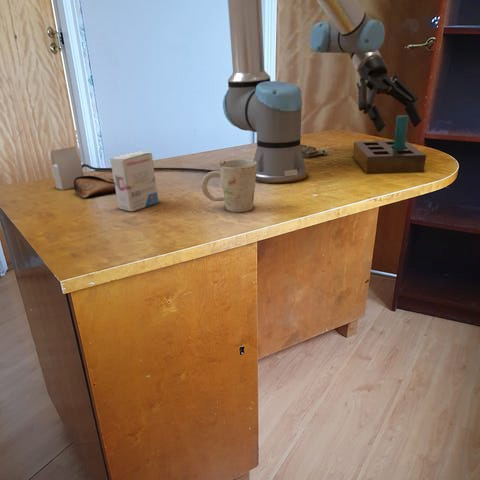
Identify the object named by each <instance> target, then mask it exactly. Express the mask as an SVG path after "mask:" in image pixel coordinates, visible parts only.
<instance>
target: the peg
mask: <svg viewBox="0 0 480 480" xmlns="http://www.w3.org/2000/svg"><path fill="white" fill-rule="evenodd" d="M409 119H410V118H409V116H408V114H407V115H404V114H399V115H396V120H395V128H394V138H393V140H394V145H393V149H405V142H406V141H407V134H408V125H409Z"/></svg>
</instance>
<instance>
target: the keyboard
mask: <svg viewBox="0 0 480 480" xmlns="http://www.w3.org/2000/svg"><path fill="white" fill-rule="evenodd" d="M300 147H301V151H302V155H303V158H304V159H310V158H314V157H318V156H325V155H326V150H322V151H319V150H318V149H317V147H315V146H311V145H309V146H308V145H306V144H301V143H300Z"/></svg>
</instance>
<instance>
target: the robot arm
mask: <svg viewBox="0 0 480 480" xmlns="http://www.w3.org/2000/svg"><path fill="white" fill-rule="evenodd" d="M316 2H317V3H318V4H319V6H320V7H321V9H322V10H323V12H324V13H325V14H326V16H327V17H328V18H329V20H330V21H329V22H328V21H319V22H316V23H315V24H314V25H313V26H312V28H311V29H310V34H309V45H310V48H311V49H312V51H314V52H316V53H321V54H327V53H328V54H348V55H349V57H350V59H351V61H352V63H353V66H354V68H355V70H356V72H357V73H358V75H359V78H360V79H359V80H358V81H357V83H356V87H357V89H358V111H361V112H363V114H364V115H367V116H368V117H369V119H370V121H372V123H373V125H374V127H375V129H376V131H377V133H381V131H382V130H383V129H384V128H385V126H386V123H385V121H384V119H383V117H382V115H381V113H380V112H379V108H378V107H377V105H374V103H375V99H376V96H377V95H386V96H390V97H392V98H393V99H394V100H396V101H398V102H399V103H400V104H402V105H403V106H404V110H405V112H406V114H407V116H409V118H408V119H409V121H410V122H411V124H412V126H413V128H416V127H418V125H419V124H420V123H421V122H422V118H421V116H420V114H419V112H418V109H417V106H416V104H415V103H416V102H417V101H418V99H419V97H418V96H417V95H416V94H415V93H414V92H413V91H412V90H410V88H409V87H408V86H407V85H406V84H405V83H403V82H402V80H401V79H400V77H399V76H398V74H394V75H393V76H392V77H390V76H389V75H388V66H387V65H386V62H385V60H384V59H383V58H382V55H381V53H380V51H379V49H380V48H381V47H382V45H383V43H384V41H385V36H386V29H385V26H384V23H383V22H382V21H380V20H379V19H374V18H371V19H370V18H369V17H368V15H367V14H366V12H365V11H364V9H363V7H362V5H361V4H360V3H359V1H358V0H316ZM227 8H228V21H229V37H230V39H229V40H230V49H231V50H230V51H231V65H232V73H231V75H230V77H229V78H228V79H227V83H228V84H227V86H228V89H227V90H226V92H225V94H224V96H223V99H222V110H223V114H224V116H225V118H226V120H227V121H228V122H229V123H230V124H231V125H232V126H234V127H235V128H237V129H240V130H242V131H248V132H253V133H256V150H255V154H254V157H253V161H256V162H257V170H256V180H255V182H258V183H264V184H265V183H266V184H288V183H295V182H298V181H302V180H304V179H306V178H307V171H308V170H307V165H306V163H305V157H303V155H302V151H301V147H300V145H301V135H302V110H303V109H302V106H303V100H302V98H303V97H302V90H301V88H300V87H299V86H298V85H297V84H294V83H292V82H289V81H288V82H287V81H279V80H274V81H273V80H271V76H270V74H269V73H268V72H267V71H266V70H265V55H264V52H265V51H264V31H263V9H262V8H263V7H262V0H227ZM368 89H369V91H368ZM367 94H368V95H367ZM84 167H85V168H88V169H90V170H93V171H104V172H105V171H106V172H107V171H110V172H112V167H94V166H91V165H89V164H87V163H83V164H82V169H83V168H84ZM154 171H189V172H202V173H209V172H213V171H217V170H215V169H206V168H194V167H193V168H192V167H154Z"/></svg>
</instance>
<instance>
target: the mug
mask: <svg viewBox="0 0 480 480" xmlns="http://www.w3.org/2000/svg"><path fill="white" fill-rule="evenodd" d="M256 170H257V162H256V161H254V159H253V160H252V159H247V158H246V159H243V158H240V159H239V158H237V159H228V160H227V159H226V160H223V161H220V162H219V164H218V170H216V171H213V172H206V174H205V175H204V176H203V178H202V180H201V183H200V185H201V192H202V193H203V195H204V196H205V197H206V198H207V199H209V200H210V201H212V202H223V201H224V203H225V209H226V210H227V211H229V212H232V213H244V212H245V213H246V212H248V211H251V210H252V209H253V207H254V201H255V199H254V198H255V191H256V190H255V188H256ZM212 178H220V182H221V188H222V193H223V196H219V197H215V196H213V195H212V194H211V192H209V190H208V183H209V181H210V180H211V179H212Z"/></svg>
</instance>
